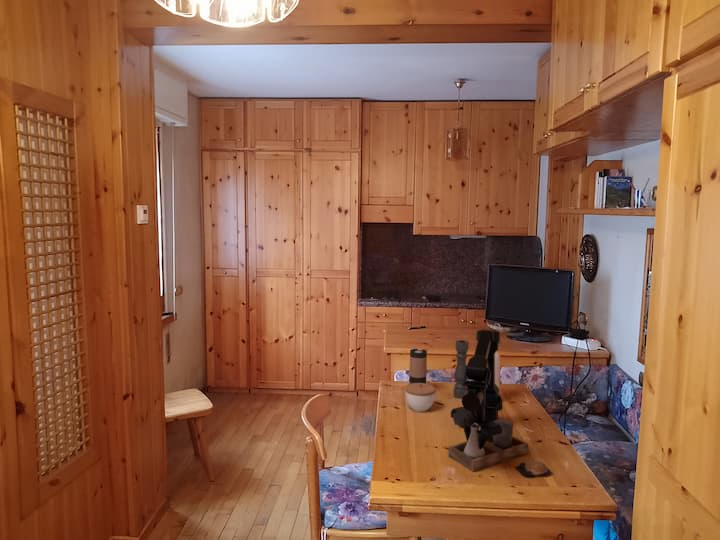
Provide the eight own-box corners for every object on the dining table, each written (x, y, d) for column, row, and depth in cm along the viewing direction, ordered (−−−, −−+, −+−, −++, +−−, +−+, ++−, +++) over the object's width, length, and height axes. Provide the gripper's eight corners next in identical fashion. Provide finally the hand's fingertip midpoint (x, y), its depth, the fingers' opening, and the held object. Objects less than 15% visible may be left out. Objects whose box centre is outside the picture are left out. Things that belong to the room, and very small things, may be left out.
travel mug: (415, 397, 228) (416, 353, 226) (405, 392, 235) (406, 349, 233) (429, 395, 232) (430, 351, 230) (419, 389, 239) (420, 347, 236)
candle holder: (451, 393, 234) (453, 340, 231) (465, 393, 234) (467, 339, 231) (455, 398, 227) (457, 343, 225) (469, 398, 228) (471, 343, 225)
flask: (485, 460, 167) (486, 431, 166) (463, 458, 168) (464, 429, 167) (484, 450, 174) (485, 422, 173) (463, 448, 175) (464, 420, 174)
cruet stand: (501, 440, 186) (502, 413, 185) (527, 453, 176) (529, 425, 175) (448, 456, 173) (449, 427, 172) (473, 471, 163) (474, 441, 162)
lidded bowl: (439, 407, 217) (440, 381, 216) (427, 416, 207) (427, 390, 206) (413, 401, 224) (413, 376, 223) (399, 410, 214) (400, 384, 212)
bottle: (477, 401, 224) (479, 334, 221) (484, 396, 230) (486, 331, 227) (495, 405, 219) (497, 337, 216) (501, 400, 226) (504, 333, 222)
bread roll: (540, 464, 169) (541, 454, 169) (556, 477, 161) (557, 466, 161) (512, 468, 167) (512, 457, 166) (526, 481, 159) (527, 469, 158)
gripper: (438, 395, 173) (437, 439, 175) (477, 414, 157) (476, 463, 159) (464, 390, 178) (462, 433, 180) (504, 407, 163) (502, 454, 164)
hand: (474, 445), depth 171 cm, fingers closed on flask, 5 cm apart
